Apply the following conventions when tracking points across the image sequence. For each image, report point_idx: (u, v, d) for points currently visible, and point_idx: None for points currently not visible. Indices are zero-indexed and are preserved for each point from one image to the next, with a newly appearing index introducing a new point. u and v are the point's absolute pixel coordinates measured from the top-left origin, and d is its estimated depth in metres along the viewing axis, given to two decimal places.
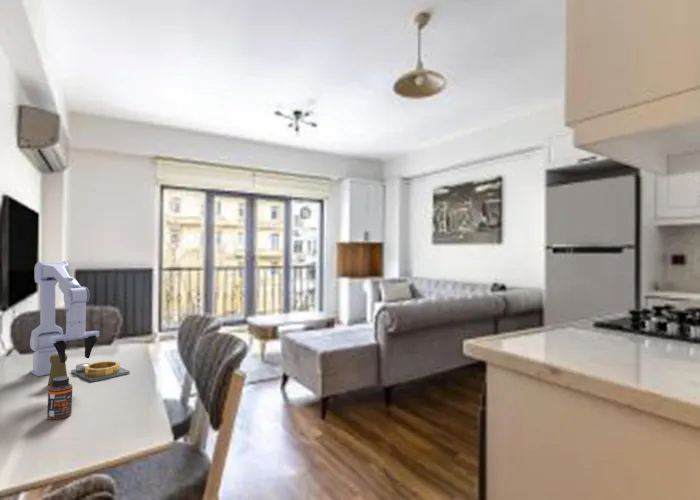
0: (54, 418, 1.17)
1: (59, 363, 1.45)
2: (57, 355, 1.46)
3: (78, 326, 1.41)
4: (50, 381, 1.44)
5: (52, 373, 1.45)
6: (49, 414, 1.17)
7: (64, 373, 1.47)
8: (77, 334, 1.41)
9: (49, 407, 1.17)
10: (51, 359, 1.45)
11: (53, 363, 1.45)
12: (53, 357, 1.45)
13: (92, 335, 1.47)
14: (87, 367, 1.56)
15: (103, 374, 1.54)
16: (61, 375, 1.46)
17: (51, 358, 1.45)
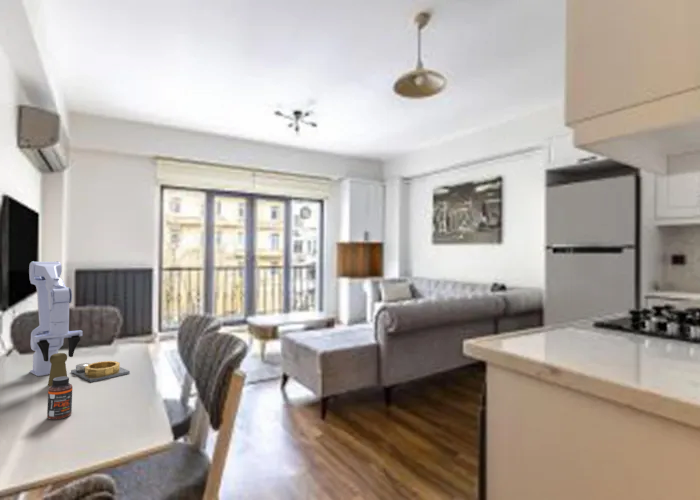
0: (54, 418, 1.17)
1: (59, 363, 1.45)
2: (57, 355, 1.46)
3: (62, 326, 1.45)
4: (50, 381, 1.44)
5: (52, 373, 1.45)
6: (49, 414, 1.17)
7: (64, 373, 1.47)
8: (60, 333, 1.45)
9: (49, 407, 1.17)
10: (51, 359, 1.45)
11: (53, 363, 1.45)
12: (53, 357, 1.45)
13: (75, 334, 1.51)
14: (87, 367, 1.56)
15: (103, 374, 1.54)
16: (61, 375, 1.46)
17: (51, 358, 1.45)
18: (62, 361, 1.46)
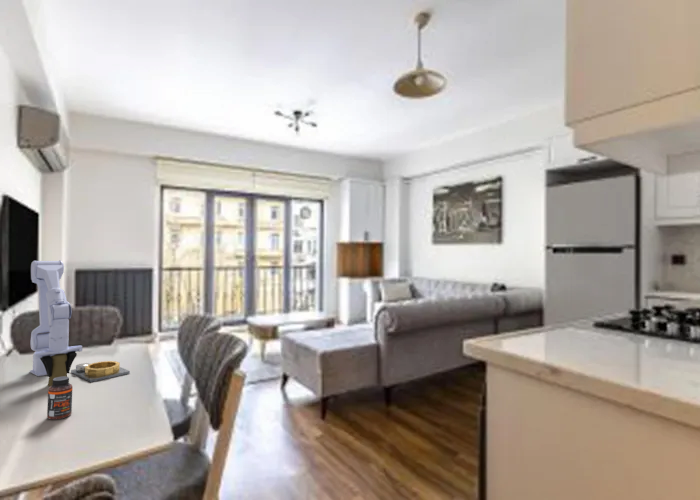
0: (54, 418, 1.17)
1: (59, 363, 1.45)
2: (57, 355, 1.46)
3: (61, 342, 1.45)
4: (50, 381, 1.44)
5: (52, 373, 1.45)
6: (49, 414, 1.17)
7: (64, 373, 1.47)
8: (60, 349, 1.45)
9: (49, 407, 1.17)
10: None
11: (53, 363, 1.45)
12: (53, 357, 1.45)
13: (75, 350, 1.51)
14: (87, 367, 1.56)
15: (103, 374, 1.54)
16: (61, 375, 1.46)
17: None
18: (62, 361, 1.46)
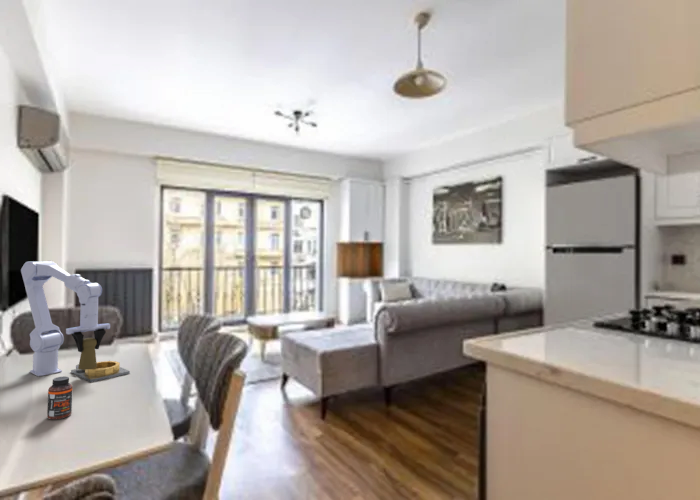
0: (54, 418, 1.17)
1: (90, 347, 1.53)
2: (88, 339, 1.53)
3: (92, 319, 1.53)
4: (81, 364, 1.52)
5: (82, 357, 1.52)
6: (49, 414, 1.17)
7: (94, 357, 1.54)
8: (90, 326, 1.53)
9: (49, 407, 1.17)
10: (82, 343, 1.52)
11: (84, 347, 1.52)
12: (84, 341, 1.52)
13: (104, 327, 1.59)
14: None
15: (103, 374, 1.54)
16: (91, 359, 1.53)
17: None
18: (92, 345, 1.54)
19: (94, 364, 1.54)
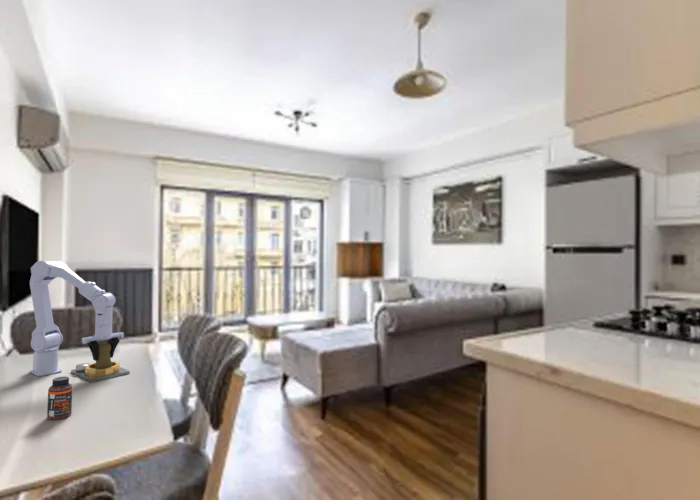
0: (54, 418, 1.17)
1: (105, 352, 1.57)
2: (103, 345, 1.58)
3: (106, 328, 1.57)
4: None
5: (98, 362, 1.57)
6: (49, 414, 1.17)
7: (109, 362, 1.59)
8: (105, 335, 1.57)
9: (49, 408, 1.17)
10: (98, 349, 1.57)
11: (99, 352, 1.57)
12: (99, 347, 1.57)
13: (118, 336, 1.63)
14: (87, 367, 1.56)
15: (103, 374, 1.54)
16: (107, 363, 1.58)
17: (98, 348, 1.57)
18: (107, 351, 1.58)
19: None
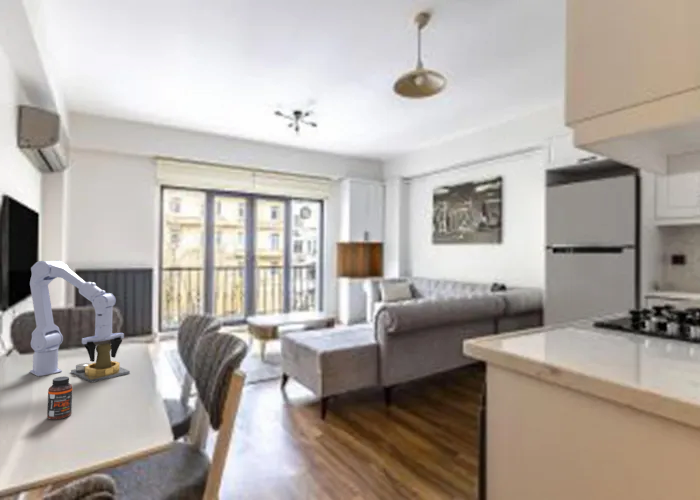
0: (54, 418, 1.17)
1: (105, 352, 1.57)
2: (103, 345, 1.58)
3: (106, 329, 1.57)
4: None
5: (98, 362, 1.57)
6: (49, 414, 1.17)
7: (109, 362, 1.59)
8: (105, 336, 1.57)
9: (49, 408, 1.17)
10: (98, 349, 1.57)
11: (99, 352, 1.57)
12: (99, 347, 1.57)
13: (117, 337, 1.63)
14: (87, 367, 1.56)
15: (103, 374, 1.54)
16: (107, 363, 1.58)
17: (98, 348, 1.57)
18: (107, 351, 1.58)
19: None
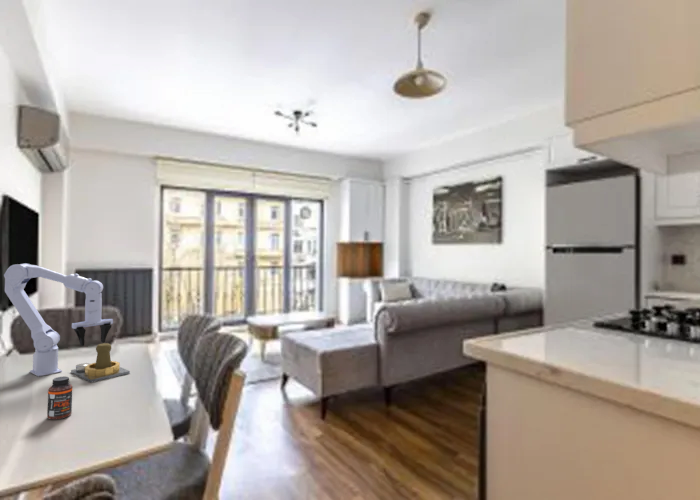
0: (54, 418, 1.17)
1: (105, 352, 1.57)
2: (103, 345, 1.58)
3: (96, 314, 1.63)
4: None
5: (98, 362, 1.57)
6: (49, 414, 1.17)
7: (109, 361, 1.59)
8: (94, 321, 1.63)
9: (49, 407, 1.17)
10: (98, 349, 1.57)
11: (99, 352, 1.57)
12: (99, 347, 1.57)
13: (107, 322, 1.69)
14: (87, 367, 1.56)
15: (103, 374, 1.54)
16: (107, 363, 1.58)
17: (98, 348, 1.57)
18: (107, 351, 1.58)
19: None
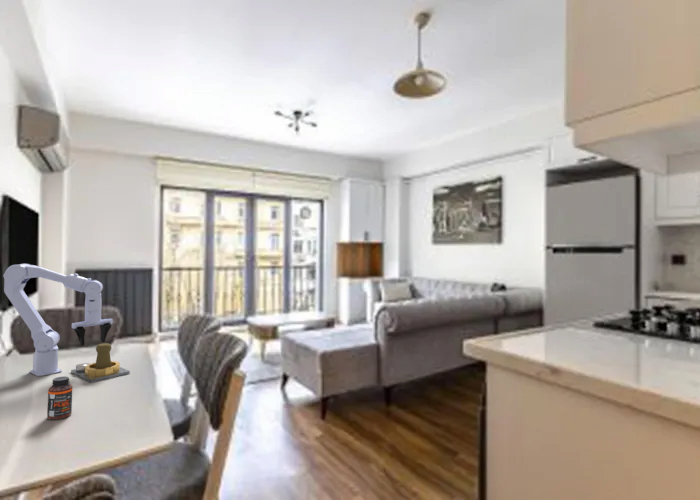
0: (54, 418, 1.17)
1: (105, 352, 1.57)
2: (103, 345, 1.58)
3: (95, 314, 1.63)
4: None
5: (98, 362, 1.57)
6: (49, 414, 1.17)
7: (109, 361, 1.59)
8: (94, 321, 1.63)
9: (49, 407, 1.17)
10: (98, 349, 1.57)
11: (99, 352, 1.57)
12: (99, 347, 1.57)
13: (107, 322, 1.69)
14: (87, 367, 1.56)
15: (103, 374, 1.54)
16: (107, 363, 1.58)
17: (98, 348, 1.57)
18: (107, 351, 1.58)
19: None
